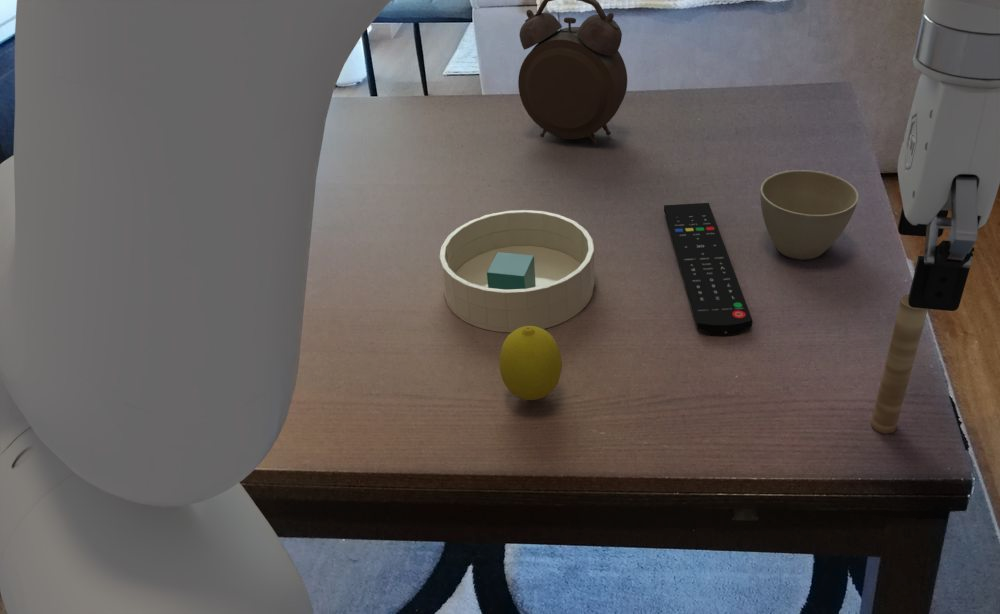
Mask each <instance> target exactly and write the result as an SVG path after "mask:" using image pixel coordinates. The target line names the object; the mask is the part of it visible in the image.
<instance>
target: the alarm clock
mask: <svg viewBox="0 0 1000 614" xmlns="http://www.w3.org/2000/svg"><path fill="white" fill-rule="evenodd" d="M577 1H578V2H583V3H585V4H588V5H591V6H592V7H593V9H594V10H595V11H596V13H597V14H593V15H590V16H588V17H587V18H585V20H584V21H583V22H582V23H581V25H580V26H572V24H576V22H577V18H575V17H568V16H566V17H564V18H563V23H565V24H567V25H568V27H564V28H563V25H562V24H561V22H560V21H559V20H558V18H556V16H554V15H553V14H551V13H549V12H543V11H544V10H545V8H546V7H547V5H548V3H549V2H554V0H542V2H541V3H540V6H539V7H538V9H537V11H536V13H535V14H534V12H533V10H531V9H527V10H526V14H525V15H526V17H527V18H526V19H525V20H524V23H523V24H522V25H521V27H520V29H519V40H520V43H521V47H522V48H523V50H524V51H525V50H528V49H530V48H532V47H533V48H532V49H531V50H530V51H529V53H527V55H526V57H524V59H523V61H522V64H521V66H520V68H519V73H518V80H517V81H518V82H517V83H518V84H517V85H518V86H517V87H518V93H519V97H520V101H521V104H522V106H523V108H524V110H525V111H526V113H527V114H528V116H529V117H530V119H531V120H532V121H533V122H534V123H535V125H537V126H538V127H539V128H541V129H542V132H541V133H540V135H539V136H540V138H545V134H546V133H549V134H551V135H552V136H555V137H557V138H561V139H567V140H578V139H579V140H580V139H583V138H588V137H590V139H591V140H592V144H593V145H596V146H597V145H598V142H599V141H598V140H597V139H596V135H595V134H596V133H598V131H600V130H601V129H603V131H605V135H606V136H610V135H612V133H611V130H609V128H608V123H610V121H611V120H613V118H614V117H615V115H616V114H617V112H618V110H619V109H620V107H621V105H622V103H623V101H624V99H625V97H626V93H627V89H628V72H627V67H626V64H625V61H624V59H623V57H622V55H621V52H620V51H619V49H620V47H621V43H622V37H623V33H622V30H621V27H620V26H619V24H618V23H617V21H615V20H614V17H615V15H614V13H613V12H609V13H608V14H607V15H606V13H605V11H604V9H603V7H602V6H601V4H600V2H599V1H598V0H577Z"/></svg>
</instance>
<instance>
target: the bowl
mask: <svg viewBox="0 0 1000 614" xmlns="http://www.w3.org/2000/svg"><path fill="white" fill-rule="evenodd" d="M497 252H503V253H513V254H524V255H534V266H535V284H536V287H532V288H527V289H508V290H505V289H496V288H488V280H487V271H488V269H489V267H490V265H491V264H492V262H493V260H494V258H495V256H496V254H497ZM438 259H439V266H440V273H441V281H442V289H443V294H444V298H445V302H446V305H447V306H448V308H449V309H450V311H451V312H452V314H454V315H455V316H456V318H457V317H458V318H459V319H460V320H462V321H463V322H465V323H467V324H469V325H471V326H474V327H476V328H479V329H482V330H487V331H491V332H497V333H508V334H511V333H512V332H513V331H514V330H516V329H518V328H521V327H524V326H536V327H539V328H542V329H544V330H545V329H549V328H552V327H555V326H558V325H560V324H563V323H565V322H566V321H569V320H571V319H572V318H573V317H576V316H577V315H578V314H579V313H581V311H583V310H584V309H585V307H587V305H588V304H589V302H590V301H591V299H592V297H593V294H594V289H595V245H594V239H593V237H592V236H591V235H590V233H589V231H588V230H587V229H586V228H585V227H583V226H582V225H581V224H580V223H578V222H577V221H575V220H574V219H571V218H569V217H566V216H565V215H562V214H557V213H554V212H549V211H544V210H531V209H519V210H518V209H516V210H504V211H499V212H494V213H488V214H485V215H482V216H480V217H477V218H474V219H471V220H469V221H467V222H466V223H464V224H461V225H460V226H458V227H456V228H455V229H454V230H452V232H451V233H450V234H448V235H447V236H446V238H445V240H444V241H443V243H442V244H441V246H440V250H439V257H438Z"/></svg>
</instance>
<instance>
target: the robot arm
mask: <svg viewBox="0 0 1000 614" xmlns="http://www.w3.org/2000/svg"><path fill="white" fill-rule="evenodd" d="M391 2H393V0H16V7H15V25H14V26H15V27H14V123H13V124H14V127H13V155H11V156H10V157H8V158H7V159H5V160H4V161H2V162H1V163H0V597H1V600H2V602H3V606H4V608H5V611H6V614H314V608H313V605H312V600H311V596H310V594H309V592H308V589H307V586H306V584H305V581H304V580H303V577H302V574H301V573H300V570H299V569H298V567H297V566H296V563H294V560H293V559H292V557H291V555H290V554H289V551H288V550H287V548H286V547H285V545H284V544H283V542H282V541H281V539H280V537H279V535H277V533H276V531H275V530H274V528H273V527H272V526H271V524H270V523H269V521H268V519H266V517H265V515H264V514H263V513H262V511H261V510H260V508H259V507H258V505H256V503H255V502H254V500H253V498H252V497H251V495H250V494H249V493H248V492H247V490H246V489H245V487H244V486H243V485H242V484H241V482H243V481H244V480H245V479H246V478H247V477H248V476H250V475H251V474H252V473H253V472H254V471H255V470H256V469H257V468H258V467H259V465H260V464H262V462H263V461H264V460H265V458H266V457H267V455H268V454H269V453H270V451H271V450H272V448H273V447H274V445H275V444H276V442H277V440H278V438H279V436H280V434H281V432H282V429H283V428H284V426H285V423H286V421H287V418H288V414H289V412H290V407H291V405H292V401H293V398H294V394H295V389H296V386H297V380H298V373H299V365H300V356H301V346H302V335H303V334H302V333H303V323H304V312H305V302H306V291H307V290H306V289H307V280H308V270H309V259H310V248H311V238H312V229H313V227H312V226H313V217H314V207H315V195H316V185H317V175H318V169H319V163H320V157H321V152H322V147H323V140H324V133H325V129H326V123H327V122H326V121H327V117H328V113H329V110H330V105H331V101H332V98H333V94H334V91H335V89H336V86H337V82H338V80H339V79H340V78H339V77H340V76H341V73H342V70H343V68H344V66H345V64H346V63H347V61H348V59H349V57H350V55H351V54H352V53H353V51H354V49H355V47H356V46H357V44H358V42H359V41H360V39H361V38H362V37H363V34H364V33H365V32H366V31H367V29H368V28H369V27H370V26H371V25H372V23H373V22H374V21H375V20H376V19H377V17H378V16H379V15H380V14H381V13H382V12H383V10H384V9H385V8H386V7H387V5H389V4H390V3H391ZM912 66H913V67H914V69H915V70H916V71H917V72H919V73H920V75H919V79H918V82H917V85H916V88H915V93H914V97H913V100H912V105H911V107H910V112H909V116H908V120H907V124H906V128H905V132H904V135H903V139H902V143H901V148H900V150H899V156H898V158H897V159H898V160H897V177H898V184H899V185H898V186H899V191H900V199H901V203H902V207H901V211H900V215H899V220H898V225H897V232H898V234H899V235H901V236H909V237H911V236H913V237H925V242H924V251H923V255H918V257H917V261H916V265H915V269H914V273H913V277H912V281H911V285H910V289H909V293H908V294H909V297H908V302H909V305H910V306H911V307H913V308H924V309H928V310H935V311H947V312H956V311H958V309H959V307H960V305H961V300H962V297H963V294H964V290H965V287H966V284H967V279H968V276H969V273H970V269H971V266H972V264H973V263H972V262H973V257H974V252H975V247H974V246H975V244H976V242H977V239H978V232H979V229H980V228H982V227H983V226H985V225H986V223H987V222H988V220H989V218H990V215H991V213H992V210H993V206H994V205H995V201H996V197H997V194H998V191H999V187H1000V0H924V3H923V10H922V14H921V19H920V24H919V28H918V34H917V39H916V43H915V49H914V53H913V57H912ZM950 211H951V217H948V215H949V212H950ZM945 230H950V231H949V234H948V240H945V239H944V240H942V241H940V243H939V244H938V238H940V237H942V236H943V233H944V231H945Z"/></svg>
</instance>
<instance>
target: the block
mask: <svg viewBox="0 0 1000 614" xmlns="http://www.w3.org/2000/svg"><path fill="white" fill-rule="evenodd" d="M487 280H488V288H496V289H505V290H508V289H527V288H532V287H536V284H535V266H534V255H524V254H513V253H503V252H497V254H496V256H495V258H494V260H493V262H492V264H491V265H490V267H489V269H488V271H487Z"/></svg>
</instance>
